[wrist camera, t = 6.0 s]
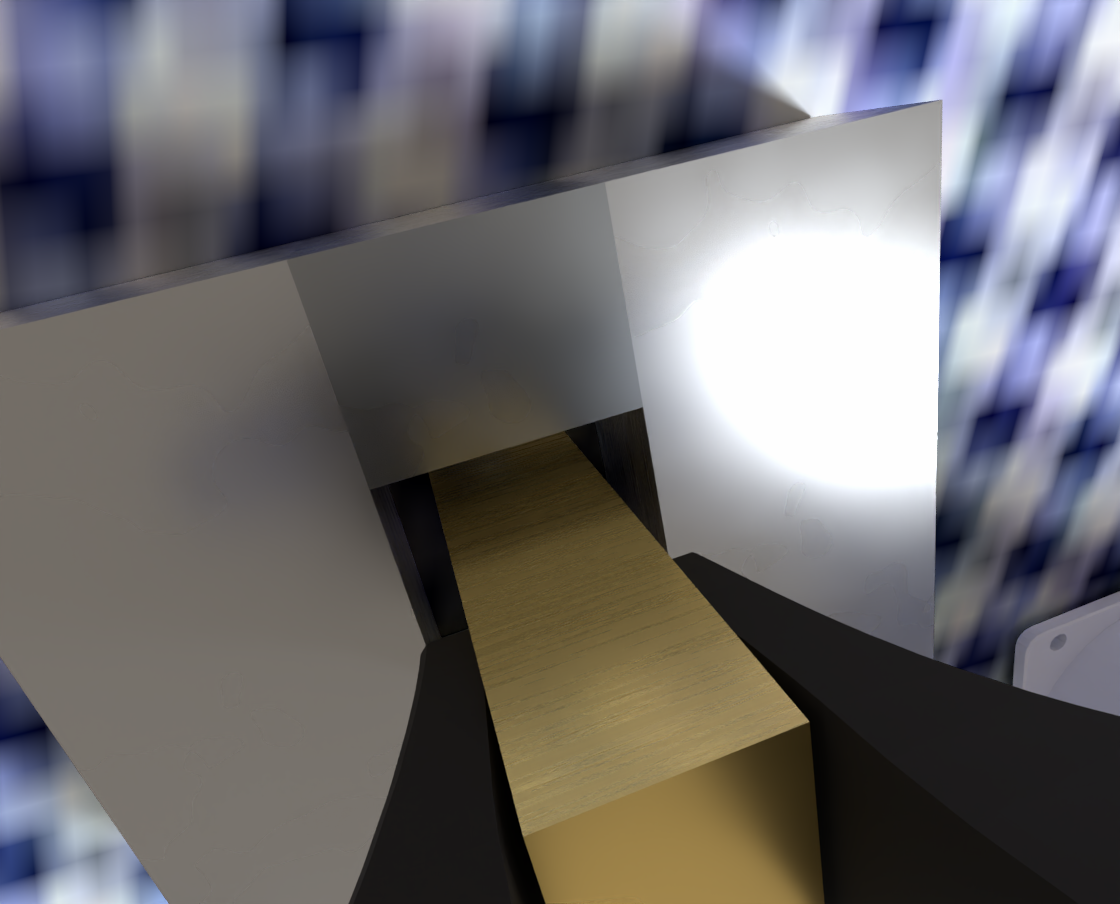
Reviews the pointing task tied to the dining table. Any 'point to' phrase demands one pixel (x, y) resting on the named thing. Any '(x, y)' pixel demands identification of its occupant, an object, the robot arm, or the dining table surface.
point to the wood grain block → (623, 697)
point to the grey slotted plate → (449, 461)
